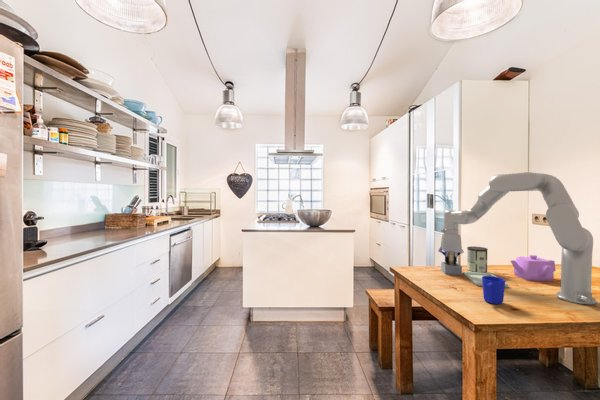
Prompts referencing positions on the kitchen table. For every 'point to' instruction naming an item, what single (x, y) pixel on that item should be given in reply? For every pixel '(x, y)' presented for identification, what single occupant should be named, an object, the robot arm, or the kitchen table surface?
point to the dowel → (451, 258)
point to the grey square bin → (451, 269)
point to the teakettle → (534, 268)
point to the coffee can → (477, 259)
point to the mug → (493, 289)
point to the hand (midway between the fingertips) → (450, 263)
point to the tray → (479, 277)
